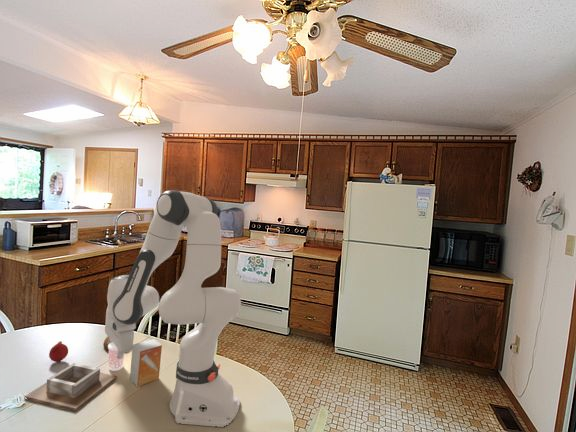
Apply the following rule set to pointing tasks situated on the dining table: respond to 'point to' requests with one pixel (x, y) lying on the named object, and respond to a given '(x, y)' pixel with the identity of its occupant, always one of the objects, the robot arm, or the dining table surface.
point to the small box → (145, 362)
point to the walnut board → (71, 387)
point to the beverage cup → (114, 358)
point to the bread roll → (106, 343)
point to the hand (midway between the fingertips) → (116, 353)
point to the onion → (58, 352)
